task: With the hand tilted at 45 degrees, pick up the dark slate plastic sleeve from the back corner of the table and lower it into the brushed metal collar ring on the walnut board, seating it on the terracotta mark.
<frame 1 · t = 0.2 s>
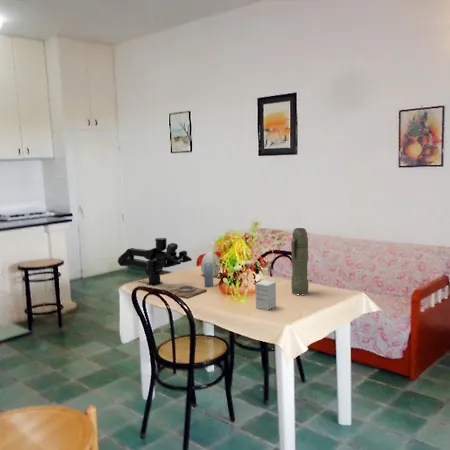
hand: (186, 261, 271), 17 cm above the table, fingers open, 9 cm apart
sleeve: (208, 286, 280), on the table
collar board: (186, 292, 268), on the table
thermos: (299, 293, 262), on the table
grey drawer cabinet: (265, 307, 240), on the table
decorative egg: (211, 275, 304), on the table
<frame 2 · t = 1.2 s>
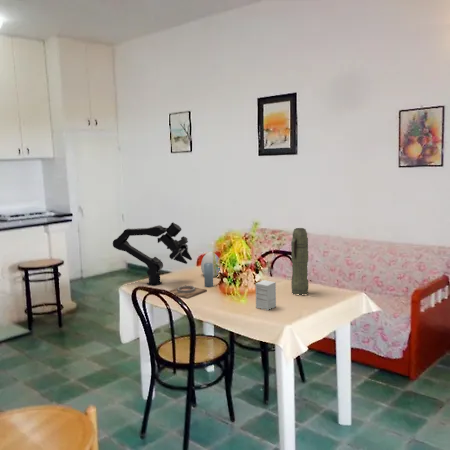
hand: (189, 261, 281), 14 cm above the table, fingers open, 9 cm apart
nothing on the table moved.
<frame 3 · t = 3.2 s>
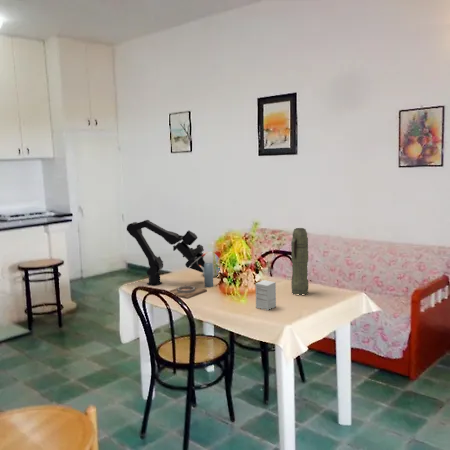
hand: (205, 269, 280), 9 cm above the table, fingers open, 9 cm apart
nothing on the table moved.
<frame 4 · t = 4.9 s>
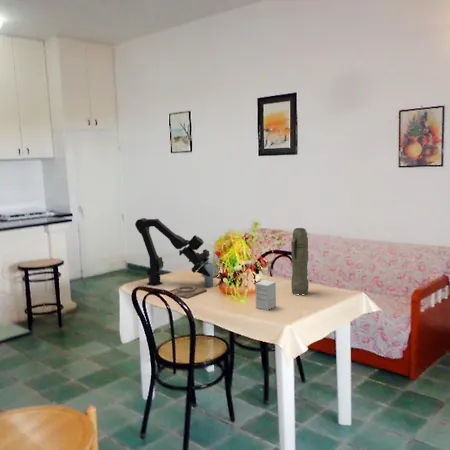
hand: (211, 274, 279), 7 cm above the table, fingers closed on sleeve, 5 cm apart
sleeve: (209, 286, 280), on the table, touching gripper
everything else where it was.
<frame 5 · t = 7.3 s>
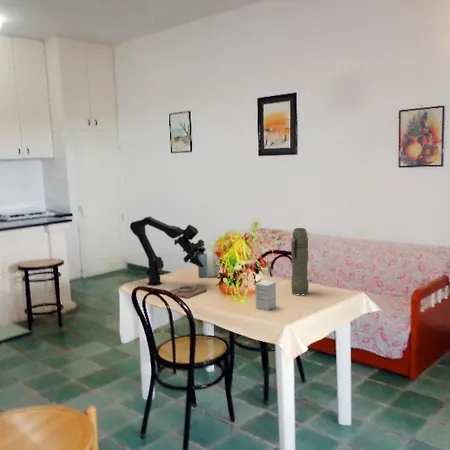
hand: (204, 265, 274), 13 cm above the table, fingers closed on sleeve, 5 cm apart
sleeve: (202, 276, 275), point 7 cm above the table, touching gripper
everything else where it was.
when the fingers open (8 cm above the table, at t = 9.7 s): sleeve stays where it is, resting on collar board.
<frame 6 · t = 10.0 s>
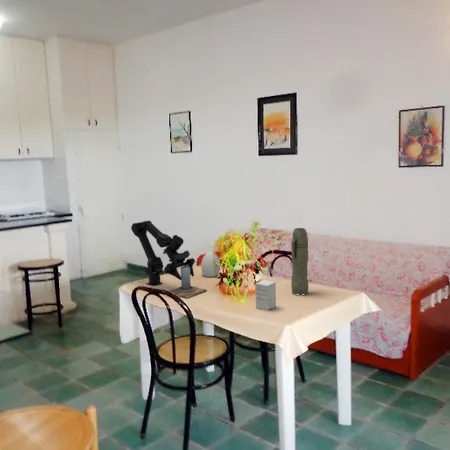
hand: (187, 277, 266), 9 cm above the table, fingers open, 9 cm apart
sleeve: (186, 290, 268), point 1 cm above the table, touching collar board
everything else where it was.
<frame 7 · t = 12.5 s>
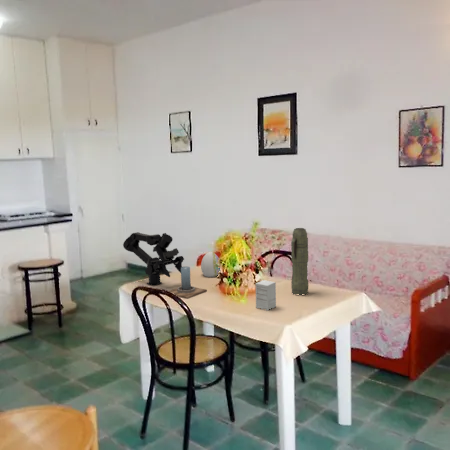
hand: (176, 275, 273), 9 cm above the table, fingers open, 9 cm apart
nothing on the table moved.
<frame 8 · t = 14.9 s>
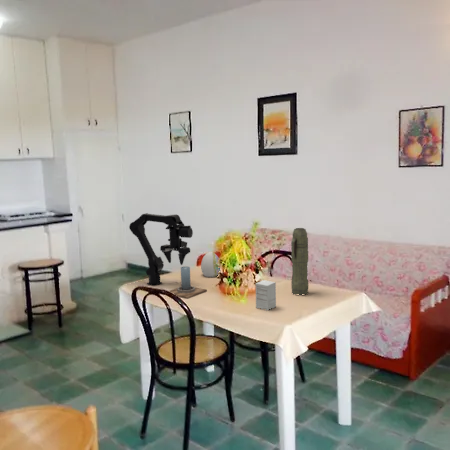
hand: (175, 263, 280), 13 cm above the table, fingers open, 9 cm apart
nothing on the table moved.
at the end: sleeve 0.0 cm off-centre on the collar board, point 1.1 cm above the collar board's base; sleeve tilted 0°; the gripper is holding nothing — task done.
